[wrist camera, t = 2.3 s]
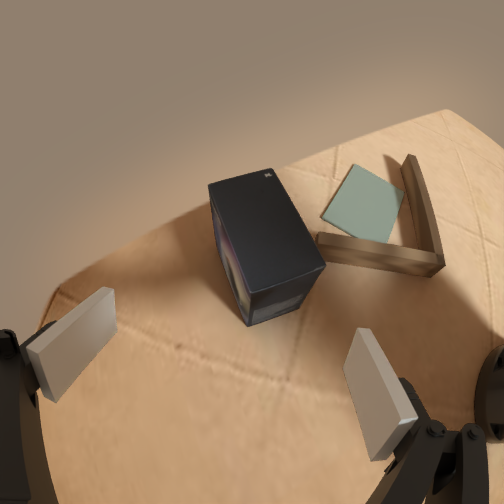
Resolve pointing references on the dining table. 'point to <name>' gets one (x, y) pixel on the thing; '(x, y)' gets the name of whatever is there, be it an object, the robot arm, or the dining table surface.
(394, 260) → the walnut corner fence
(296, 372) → the dining table surface
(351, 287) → the dining table surface
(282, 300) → the small box
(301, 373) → the dining table surface
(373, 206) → the pad
